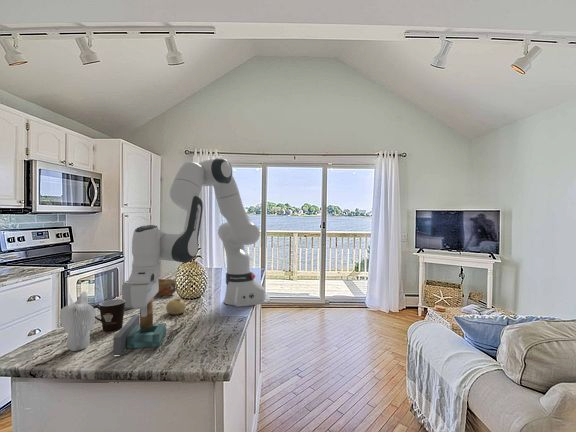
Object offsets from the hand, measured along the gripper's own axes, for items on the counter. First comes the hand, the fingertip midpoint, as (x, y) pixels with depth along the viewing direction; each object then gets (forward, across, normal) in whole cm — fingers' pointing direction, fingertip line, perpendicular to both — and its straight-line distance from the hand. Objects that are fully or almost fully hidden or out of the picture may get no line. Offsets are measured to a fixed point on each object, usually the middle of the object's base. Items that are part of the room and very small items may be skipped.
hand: (146, 313), depth 106 cm
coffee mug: (+10, -15, -17) cm, 25 cm away
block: (+10, 0, 0) cm, 10 cm away
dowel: (+5, 0, 0) cm, 5 cm away
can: (+10, -41, -17) cm, 46 cm away
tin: (+10, -60, -7) cm, 61 cm away
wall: (+10, 0, -6) cm, 11 cm away
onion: (+10, -28, +5) cm, 30 cm away
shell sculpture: (+10, +2, -20) cm, 22 cm away
